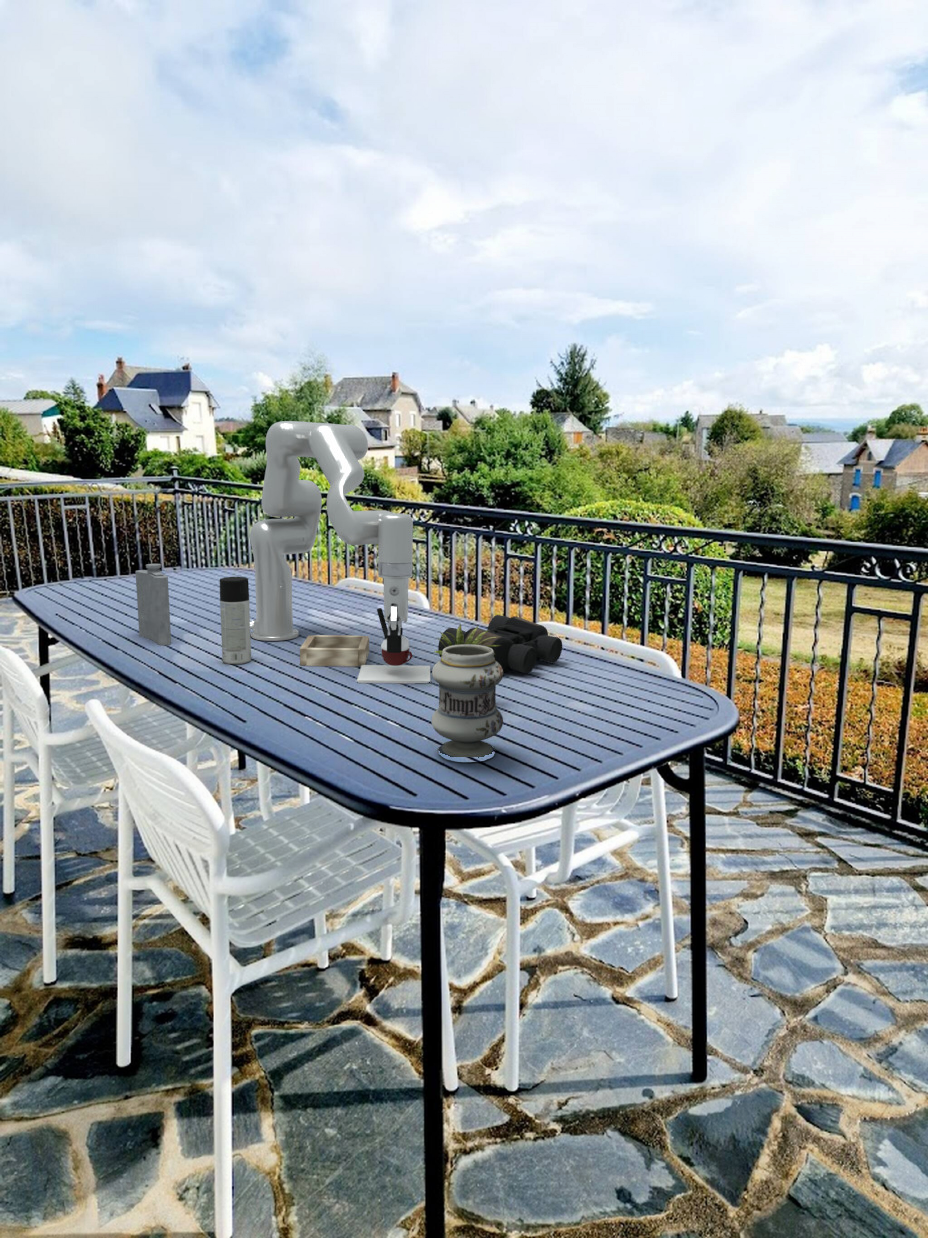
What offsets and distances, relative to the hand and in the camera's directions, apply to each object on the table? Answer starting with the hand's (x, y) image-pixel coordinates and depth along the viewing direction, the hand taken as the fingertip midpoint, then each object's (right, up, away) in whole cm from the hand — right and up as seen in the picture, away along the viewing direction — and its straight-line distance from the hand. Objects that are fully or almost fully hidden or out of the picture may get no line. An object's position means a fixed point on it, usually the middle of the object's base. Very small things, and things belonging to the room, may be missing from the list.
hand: (394, 647), depth 180 cm
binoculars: (+26, -5, +14) cm, 30 cm away
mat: (0, -6, +1) cm, 6 cm away
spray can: (-39, -4, +10) cm, 40 cm away
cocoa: (0, -4, +1) cm, 4 cm away
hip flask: (-65, +1, +31) cm, 72 cm away
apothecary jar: (+16, -16, -45) cm, 51 cm away
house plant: (+15, -11, -19) cm, 26 cm away
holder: (-16, -3, +15) cm, 22 cm away
